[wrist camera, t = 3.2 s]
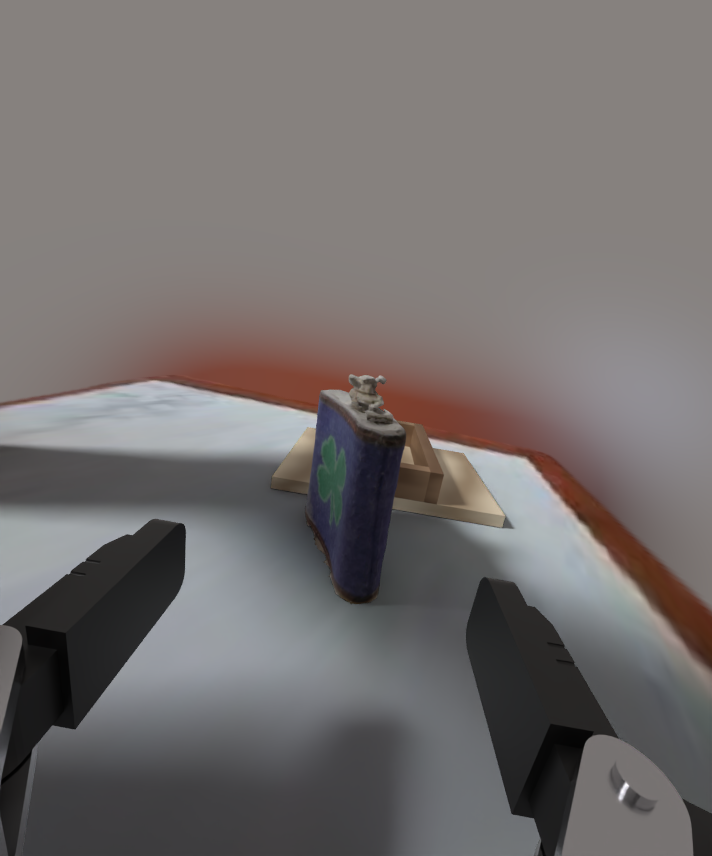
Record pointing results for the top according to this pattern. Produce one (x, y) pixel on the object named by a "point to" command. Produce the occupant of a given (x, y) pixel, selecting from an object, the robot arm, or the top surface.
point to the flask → (354, 485)
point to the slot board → (411, 479)
